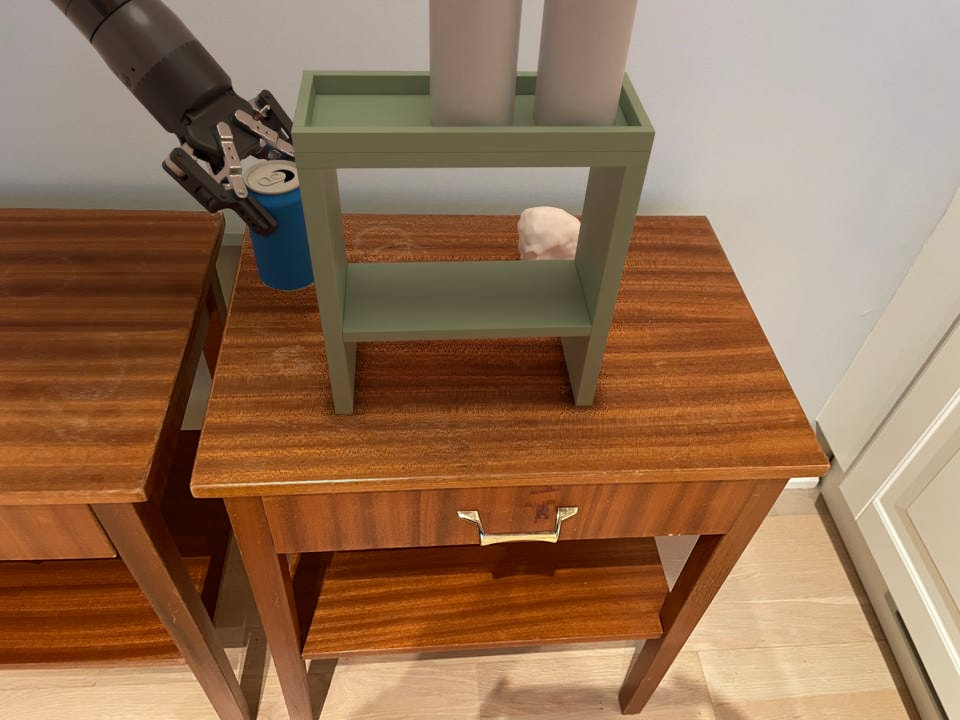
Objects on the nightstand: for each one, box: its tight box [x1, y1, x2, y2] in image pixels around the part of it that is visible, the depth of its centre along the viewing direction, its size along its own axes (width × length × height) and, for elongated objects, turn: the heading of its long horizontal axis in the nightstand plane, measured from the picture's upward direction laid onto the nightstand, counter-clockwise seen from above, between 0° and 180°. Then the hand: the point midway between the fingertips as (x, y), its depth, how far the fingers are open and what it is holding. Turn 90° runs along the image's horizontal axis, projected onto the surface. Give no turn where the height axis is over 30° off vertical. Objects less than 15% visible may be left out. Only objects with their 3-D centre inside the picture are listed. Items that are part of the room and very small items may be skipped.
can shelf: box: [291, 0, 656, 170], centre depth 49 cm, size 24×9×13 cm, turn 94°
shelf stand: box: [297, 166, 648, 415], centre depth 63 cm, size 24×9×26 cm, turn 94°
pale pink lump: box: [516, 206, 581, 260], centre depth 81 cm, size 6×8×12 cm
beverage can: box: [242, 160, 315, 292], centre depth 72 cm, size 6×6×12 cm
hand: (294, 212), depth 70 cm, fingers closed on beverage can, 6 cm apart
